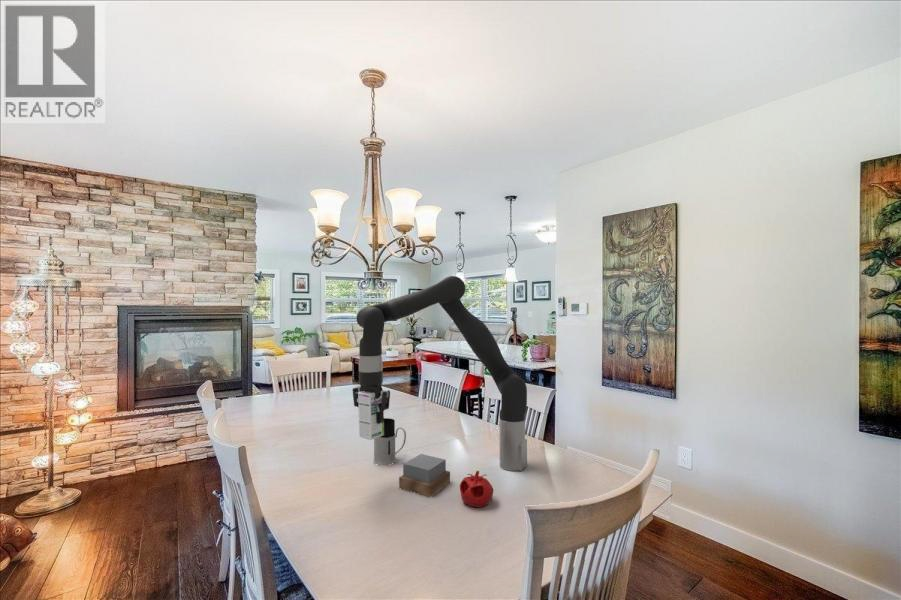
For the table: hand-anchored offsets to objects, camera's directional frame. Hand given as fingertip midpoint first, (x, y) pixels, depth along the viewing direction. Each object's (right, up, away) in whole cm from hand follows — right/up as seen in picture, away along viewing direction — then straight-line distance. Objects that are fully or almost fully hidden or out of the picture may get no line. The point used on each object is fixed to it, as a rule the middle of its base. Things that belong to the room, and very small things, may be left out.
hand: (371, 421), depth 128 cm
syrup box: (0, -5, 0) cm, 5 cm away
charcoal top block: (+17, -18, +3) cm, 25 cm away
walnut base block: (+17, -22, +3) cm, 28 cm away
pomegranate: (+33, -22, -9) cm, 41 cm away
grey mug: (+3, -22, +21) cm, 31 cm away
